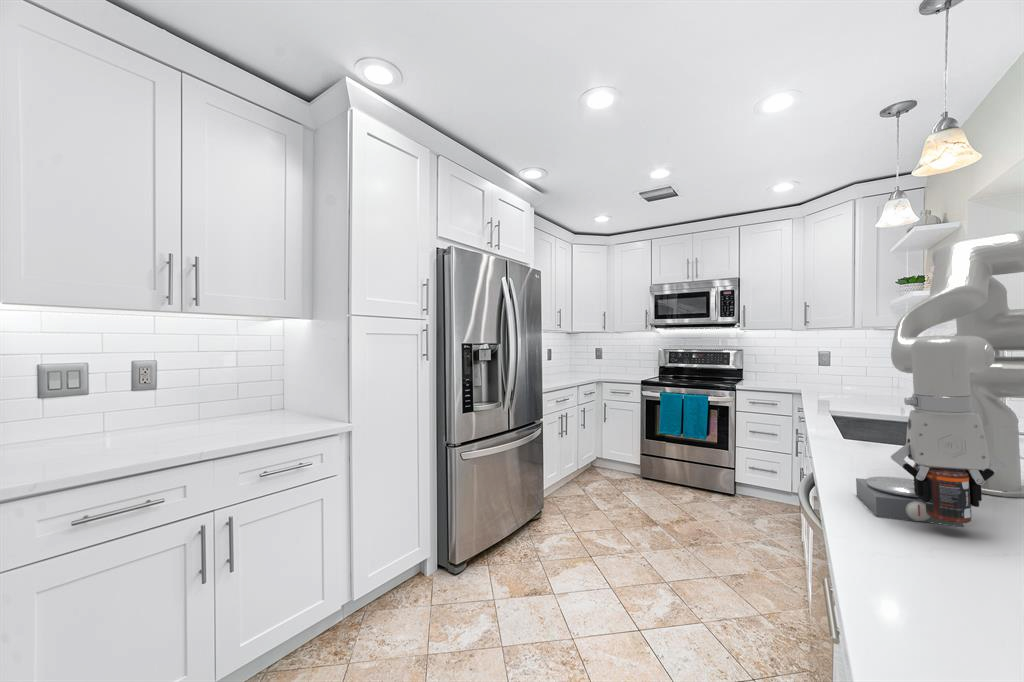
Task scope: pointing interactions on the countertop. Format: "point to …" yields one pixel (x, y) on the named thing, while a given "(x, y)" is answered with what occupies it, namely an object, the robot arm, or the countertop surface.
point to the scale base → (895, 505)
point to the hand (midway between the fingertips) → (947, 501)
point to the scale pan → (893, 485)
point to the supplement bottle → (949, 495)
